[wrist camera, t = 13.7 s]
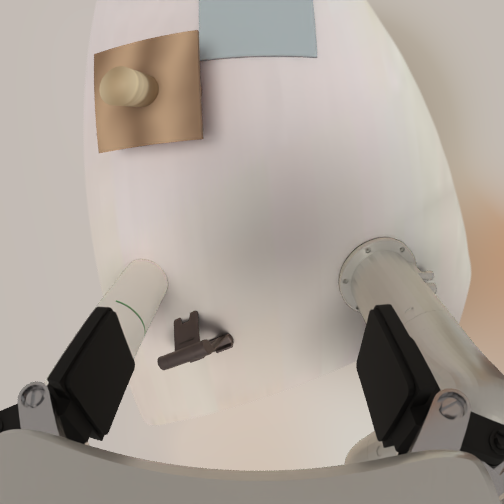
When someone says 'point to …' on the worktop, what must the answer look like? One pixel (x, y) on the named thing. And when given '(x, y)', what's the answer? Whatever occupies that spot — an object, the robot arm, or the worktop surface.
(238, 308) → the worktop surface
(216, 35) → the slate mat
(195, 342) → the portable electronic device stand
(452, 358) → the robot arm
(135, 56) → the square wooden lid
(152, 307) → the cylindrical container
